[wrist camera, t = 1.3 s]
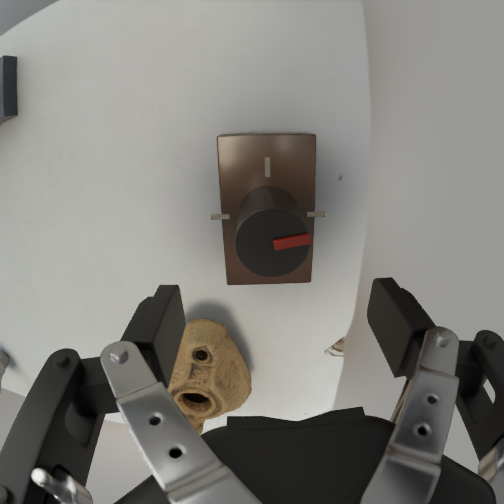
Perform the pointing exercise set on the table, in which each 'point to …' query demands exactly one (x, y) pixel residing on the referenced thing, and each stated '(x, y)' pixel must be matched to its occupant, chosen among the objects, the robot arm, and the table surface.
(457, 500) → the robot arm
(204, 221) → the table surface
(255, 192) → the knob
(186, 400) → the oil lamp
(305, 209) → the panel
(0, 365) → the lightbulb
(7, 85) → the button box
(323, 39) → the table surface
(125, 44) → the table surface
